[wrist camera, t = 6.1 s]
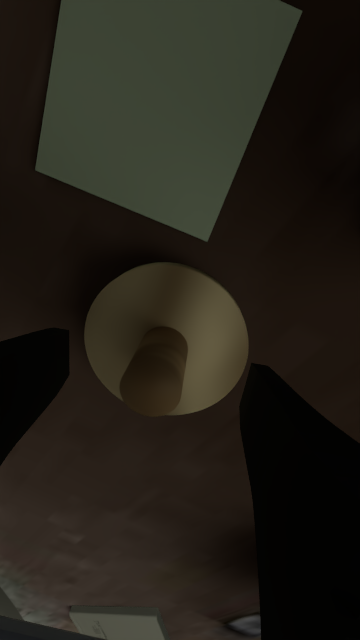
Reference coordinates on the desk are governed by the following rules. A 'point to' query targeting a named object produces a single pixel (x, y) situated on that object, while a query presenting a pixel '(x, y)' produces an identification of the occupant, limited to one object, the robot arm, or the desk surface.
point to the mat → (160, 100)
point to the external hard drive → (119, 622)
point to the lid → (166, 339)
